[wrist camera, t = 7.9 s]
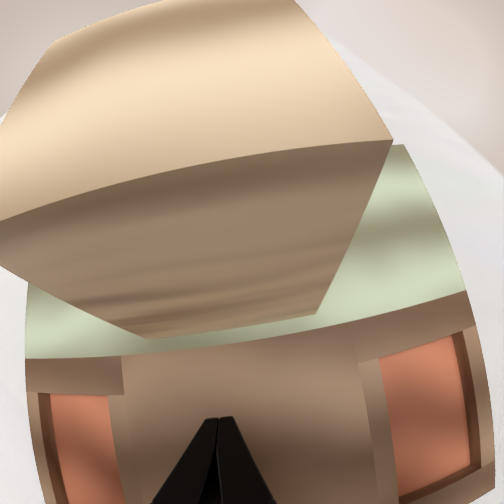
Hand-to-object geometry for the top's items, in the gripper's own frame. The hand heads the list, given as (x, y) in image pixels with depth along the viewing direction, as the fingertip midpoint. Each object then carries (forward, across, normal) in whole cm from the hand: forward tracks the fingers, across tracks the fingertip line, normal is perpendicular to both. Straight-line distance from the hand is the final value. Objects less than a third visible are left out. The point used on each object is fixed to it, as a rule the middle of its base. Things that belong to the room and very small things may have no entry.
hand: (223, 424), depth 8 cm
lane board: (+6, 0, +3) cm, 6 cm away
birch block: (+9, 0, -2) cm, 9 cm away
